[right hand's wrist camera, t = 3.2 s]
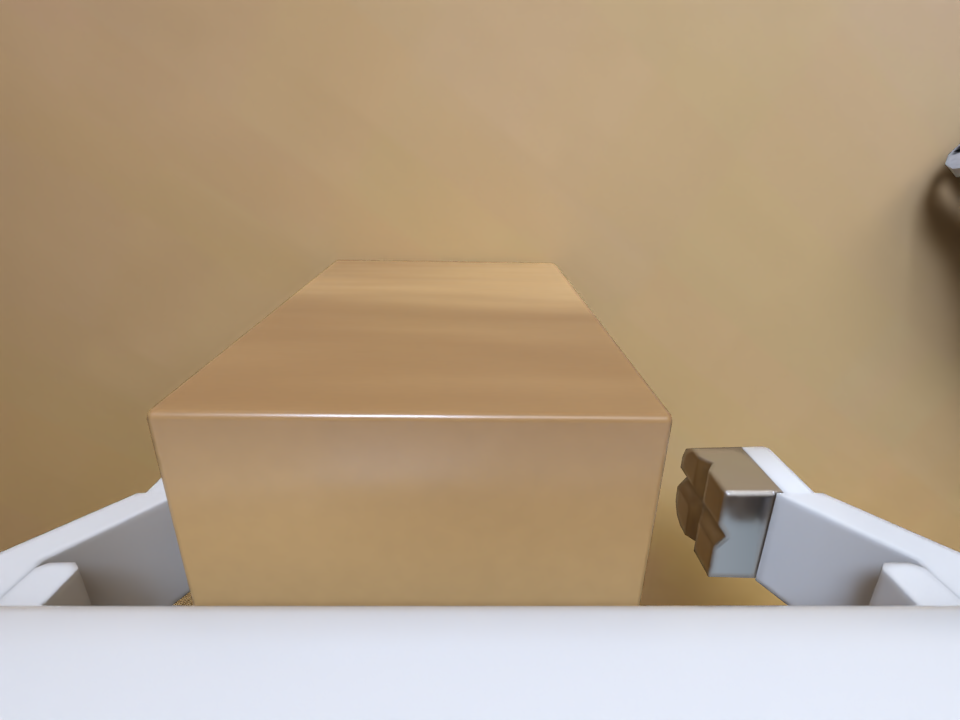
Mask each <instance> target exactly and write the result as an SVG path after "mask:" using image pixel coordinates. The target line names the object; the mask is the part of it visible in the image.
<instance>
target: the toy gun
mask: <svg viewBox="0 0 960 720" xmlns="http://www.w3.org/2000/svg"><path fill="white" fill-rule="evenodd" d="M945 165H946V166H947V167H948V168H949V169H950V171H951V172H952V173H953V174H954V175H955V176H956V177H960V144H959V145H958V146H957V147H956V148H955V149H954V150H953V151H952V152H951V153H949V154H948V157H947V160H946V163H945Z"/></svg>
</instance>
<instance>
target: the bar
mask: <svg viewBox="0 0 960 720" xmlns="http://www.w3.org/2000/svg"><path fill="white" fill-rule="evenodd" d="M147 422H148V426H149V430H150V434H151V438H152V442H153V446H154V450H155V454H156V458H157V462H158V466H159V470H160V474H161V478H162V482H163V486H164V490H165V494H166V498H167V502H168V506H169V510H170V514H171V517H172V521H173V525H174V529H175V533H176V537H177V541H178V545H179V549H180V553H181V557H182V561H183V565H184V569H185V573H186V577H187V581H188V585H189V589H190V593H191V597H192V601H193V605H194V606H640V601H641V595H642V589H643V584H644V578H645V572H646V567H647V561H648V555H649V550H650V544H651V538H652V533H653V527H654V521H655V516H656V510H657V504H658V499H659V493H660V487H661V482H662V476H663V470H664V465H665V459H666V453H667V448H668V442H669V437H670V431H671V425H672V418H671V414H670V413H669V412H668V410H667V409H666V408H665V406H664V405H663V404H662V403H661V401H660V400H659V399H658V397H657V396H656V395H655V393H654V392H653V391H652V390H651V388H650V387H649V386H648V384H647V383H646V382H645V380H644V379H643V378H642V377H641V375H640V374H639V373H638V371H637V370H636V369H635V367H634V366H633V365H632V364H631V362H630V361H629V360H628V358H627V357H626V356H625V354H624V353H623V352H622V350H621V349H620V348H619V347H618V345H617V344H616V343H615V341H614V340H613V339H612V337H611V336H610V335H609V334H608V332H607V331H606V330H605V328H604V327H603V326H602V324H601V323H600V322H599V321H598V319H597V318H596V317H595V315H594V314H593V313H592V311H591V310H590V309H589V308H588V306H587V305H586V304H585V302H584V301H583V300H582V298H581V297H580V296H579V294H578V293H577V292H576V291H575V289H574V288H573V287H572V285H571V284H570V283H569V281H568V280H567V279H566V278H565V276H564V275H563V274H562V272H561V271H560V270H559V268H558V267H557V266H556V265H555V264H553V263H503V262H434V261H364V260H337V261H335V262H334V263H333V264H332V265H330V266H329V267H328V268H327V269H325V270H324V271H323V272H322V273H320V274H319V275H318V276H317V277H315V278H314V279H313V280H312V281H310V282H309V283H308V284H307V285H305V286H304V287H303V288H302V289H300V290H299V291H298V292H297V293H295V294H294V295H293V296H292V297H290V298H289V299H288V300H287V301H285V302H284V303H283V304H282V305H280V306H279V307H278V308H277V309H275V310H274V311H273V312H272V313H270V314H269V315H268V316H267V317H265V318H264V319H263V320H262V321H260V322H259V323H258V324H257V325H255V326H254V327H253V328H252V329H250V330H249V331H248V332H247V333H245V334H244V335H243V336H242V337H240V338H239V339H238V340H237V341H235V342H234V343H233V344H232V345H230V346H229V347H228V348H227V349H225V350H224V351H223V352H222V353H220V354H219V355H218V356H217V357H215V358H214V359H213V360H212V361H210V362H209V363H208V364H207V365H205V366H204V367H203V368H202V369H200V370H199V371H198V372H197V373H195V374H194V375H193V376H192V377H190V378H189V379H188V380H187V381H185V382H184V383H183V384H182V385H180V386H179V387H178V388H177V389H175V390H174V391H173V392H172V393H170V394H169V395H168V396H167V397H165V398H164V399H163V400H162V401H160V402H159V403H158V404H157V405H155V406H154V407H153V408H152V409H150V410H149V412H148V415H147Z"/></svg>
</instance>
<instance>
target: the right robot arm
mask: <svg viewBox="0 0 960 720" xmlns="http://www.w3.org/2000/svg"><path fill="white" fill-rule="evenodd" d="M681 469H682V470H683V472H684V473H685V475H686V476H687V477H686V478H685V479H684V480H683V481H682V482H681V483H680V484H679V486H678V487H677V494H676V510H677V517H678V520H679V523H680V526H681V528H682V530H683V532H684V534H685V535H687V536H688V537H690V538H691V539H693V540H695V547H694V552H695V554H696V555H697V557H698V559H699V561H700V563H701V564H702V566H703V568H704V570H705V572H706V573H707V575H708V577H740V578H756V579H755V580H756V581H757V582H759V583H760V584H761V585H762V586H764V587H765V588H766V589H768V590H769V591H770V592H771V593H773V594H774V595H775V596H777V597H778V598H779V599H781V600H782V601H783V602H784V603H786V604H787V605H788V606H172V605H173V604H175V603H176V602H177V601H178V600H180V599H181V598H182V597H184V596H185V595H186V594H187V593H189V592H190V589H189V585H188V581H187V577H186V573H185V569H184V565H183V561H182V557H181V553H180V549H179V545H178V541H177V537H176V533H175V529H174V525H173V521H172V517H171V514H170V510H169V506H168V502H167V498H166V494H165V490H164V486H163V482H162V478H161V479H160V480H159V481H158V482H156V483H155V484H154V485H153V486H152V487H151V488H150V489H149V490H148V491H147V492H146V493H136V494H134V495H132V496H129V497H127V498H125V499H123V500H120V501H118V502H116V503H113V504H111V505H109V506H106V507H104V508H102V509H99V510H97V511H95V512H93V513H90V514H88V515H86V516H83V517H81V518H79V519H76V520H74V521H72V522H69V523H67V524H65V525H63V526H60V527H58V528H56V529H53V530H51V531H49V532H46V533H44V534H42V535H39V536H37V537H35V538H33V539H30V540H28V541H26V542H23V543H21V544H19V545H16V546H14V547H12V548H9V549H7V550H5V551H3V552H0V720H960V553H959V552H957V551H955V550H952V549H950V548H948V547H946V546H943V545H941V544H939V543H936V542H934V541H932V540H929V539H927V538H925V537H923V536H920V535H918V534H916V533H913V532H911V531H909V530H906V529H904V528H902V527H900V526H897V525H895V524H893V523H890V522H888V521H886V520H883V519H881V518H879V517H877V516H874V515H872V514H870V513H867V512H865V511H863V510H860V509H858V508H856V507H854V506H851V505H849V504H847V503H844V502H842V501H840V500H837V499H835V498H833V497H831V496H828V495H826V494H824V493H814V492H813V491H812V490H811V489H810V488H809V487H808V486H807V485H806V484H805V483H804V482H803V481H802V480H801V479H800V478H798V477H797V476H796V475H795V474H794V473H793V472H792V471H791V470H790V469H789V468H788V467H787V466H786V465H785V464H784V463H783V462H782V461H781V460H780V459H779V458H778V457H777V456H776V455H775V454H774V453H773V452H772V451H771V450H770V449H769V448H766V447H763V446H756V447H722V448H690V449H686V450H685V452H684V454H683V457H682V462H681Z"/></svg>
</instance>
